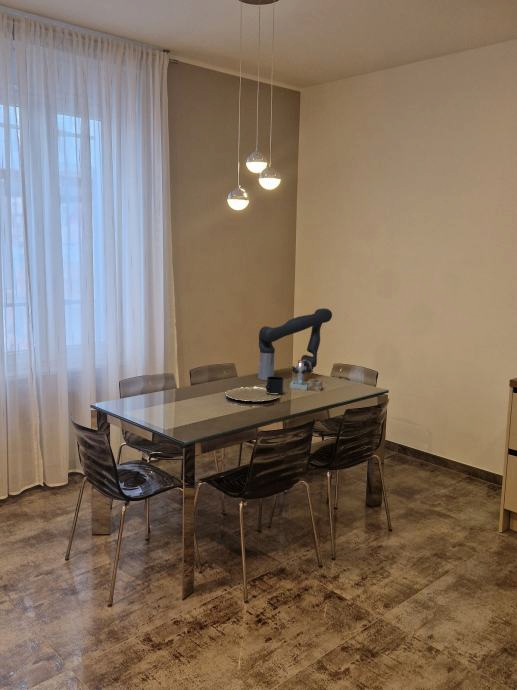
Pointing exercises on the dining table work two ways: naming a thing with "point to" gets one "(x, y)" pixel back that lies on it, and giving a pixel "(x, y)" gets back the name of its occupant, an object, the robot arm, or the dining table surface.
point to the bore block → (314, 384)
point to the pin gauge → (300, 372)
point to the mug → (274, 384)
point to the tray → (295, 386)
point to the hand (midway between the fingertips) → (299, 372)
